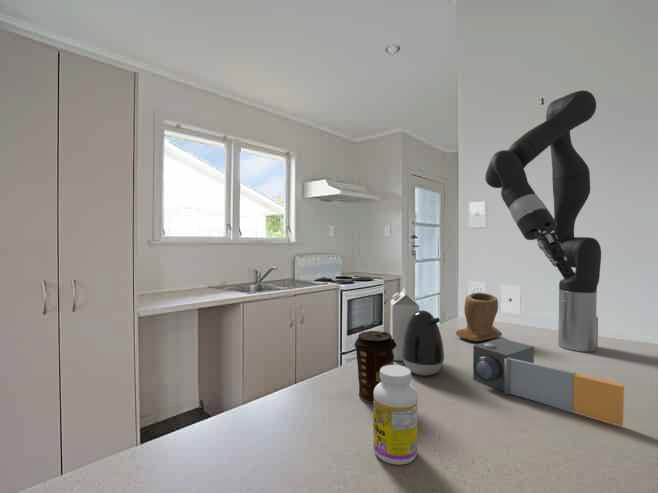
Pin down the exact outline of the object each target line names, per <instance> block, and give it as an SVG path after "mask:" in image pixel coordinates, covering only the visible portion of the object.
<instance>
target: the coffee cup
mask: <svg viewBox="0 0 658 493" xmlns="http://www.w3.org/2000/svg"><path fill="white" fill-rule="evenodd" d="M357 335H358V336H357V338H356V340H355V342H354V348H355V350H356V362H357V375H358V376H357V378H358V385H359V386H358V388H359V389H358V390H359V392H358V396H359V399H360V400H361V401H363V402H366V403H369V404H374V389H375V387H376V385H377V384H379V383H380V382H381V379H380V369H381V368H382V367H384V366H387V365H394V362H395V360H394V354H393V349H394V348H395V347H396V346H397V345H396V343H395V341H394V339H392V336H391V334H390V332H387V331H381V330H380V331H377V330H368V331H363V332H360V333H359V334H357Z"/></svg>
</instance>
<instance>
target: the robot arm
mask: <svg viewBox="0 0 658 493" xmlns="http://www.w3.org/2000/svg"><path fill="white" fill-rule="evenodd" d="M596 109H597V101H596V97H595V96H594V95H593V94H592V93H591V91H588V90H578V91H574V92H572V93H569V94H567V95H564V96H562V97H559V98H557V99H555V100H552V101H551V102H550V103H549V104H548V106H547V108H546V111H545V112H546V114H545V118H546V119H545V121H544V122H542V123H540V124H539V125H536V126H534V127H533V128H531V129H529V130H528V131H527V132H525V133H524V134H522V136H520V137H519V138H518V139H517V140H516V141H514V142H513V143H512V144H511V145H510V146H508V148H507V149H506V150H505V149H503V150H499V151H497V152H495V153H494V154H493V156H492V157H491V158H490V161H489V164H488V167H487V169H486V172H485V182H486V183H487V185H488V186H490V187H491V188H493V189H500V190H501V192H500V196H501V199H502V201H503V202H504V204H505V205H506V207H507V209H508V210H509V212H510V215H511V217H512V219H513V221H514V223H515V224H516V226H517V227H518V230H519V231H520V234H522V236H523V238H524V239H525V240H527V241H534V240H536V242H537V246H538V248H539V250H540V251H542V252H543V253H544V256H545V257H546V258H547V260H549V261H550V263H551V265H552V266H554V268H555V267H556V268H557V271H559V274H561V276H562V278H563V279H561V280H559V283H558V333H557V334H558V335H557V338H558V340H557V341H558V342H557V344H558V346H559V347H561V348H564V349H565V350H566V349H567V350H569V351H570V350H572V351H575V352H583V353H584V352H587V353H590V352H591V353H592V352H595V351H596V349H597V350H598V348H599V347H598V346H599V344H598V343H599V342H598V341H599V317H598V316H597V296H598V295H597V292H598V285H599V282H600V276H601V265H602V263H601V261H602V248H601V245H600V242H599V241H598V240H597V239H596V238H594V237H589V236H587V237H585V236H582V237H581V236H577V237H575V224H576V220H577V218H578V216H579V213H580V212H581V211H582V209H583V207H584V206H585V204H586V203H587V200H588V198H589V196H590V193H591V175H590V168H589V166H588V165H587V163H586V162H585V160H584V159H583V158H582V156H580V154H579V153H578V152H577V150H576V149H575V148H574V146H573V143H572V137H571V131H572V130H574V129H575V128H577V127H579V126H580V125H582V124H584V123H586V122H587V121H590V119H592V117H593V116H594V115H595V113H596ZM549 147H550V154H551V155H550V157H551V166H552V169H551V170H552V171H551V172H552V177H551V178H552V194H553V211H554V212H553V213H554V214H553V215H552V214H551V212H550V211H549V209H548V208H547V206H546V205H545V203H544V202H543V200H541V199H540V197H538V195H537V194H536V192H535V191H534V189H533V188H532V186H531V185H530V184H529V182H528V178H527V174H526V171H525V168H526V167H527V165H528V164H529V163H531V162H532V161H534V160H535V159H536V157H538V156H540V155H541V153H543V152H544V151H545V150H547V149H548V148H549ZM574 268H575V270H574Z"/></svg>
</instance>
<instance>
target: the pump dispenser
mask: <svg viewBox="0 0 658 493" xmlns="http://www.w3.org/2000/svg"><path fill="white" fill-rule="evenodd" d="M440 321H441V320H440V318H439V317H434V316H433V314H431V312H429V311H427V310H419V311H417V312H416V313H414V314H413V316H412V317H411V319H410V321H409V323H408V325H407V328H406V331H405V335H404V339H403V345H402V358H403V361H402V362H403V364H404V367H406V368H408V369H409V370H410V371H411V374H412V373H413V374H415V375H418V376H422V377H424V376H425V377H427V376H432V375H434V374H436V373H438V372H439V371H440V369H441V368H442V366H443V363H444V361H445V349H444V343H443V338H442V335H441V331H440V327H439V325H438V323H439V322H440Z"/></svg>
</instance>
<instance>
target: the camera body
mask: <svg viewBox="0 0 658 493" xmlns="http://www.w3.org/2000/svg"><path fill="white" fill-rule="evenodd" d="M472 356H473V357H472V360H473V361H472V367H473V368H472V370H473V373H472V379H473V381H476V382H478V383H481V384H483V385H486V386H489V387H491V388H494V389H497V390H499V391H502V392H504V368H505V358H512V359H517V360H521V361H526V362H530V363H535V346H533V345H529V344H526V343H521V342H518V341H514V340H510V339H505V338H502V337H500V338H497V339H496V338H495V339H493V340H489V341H486V342H482V343H481V342H480V343H478V344H473V355H472Z"/></svg>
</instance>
